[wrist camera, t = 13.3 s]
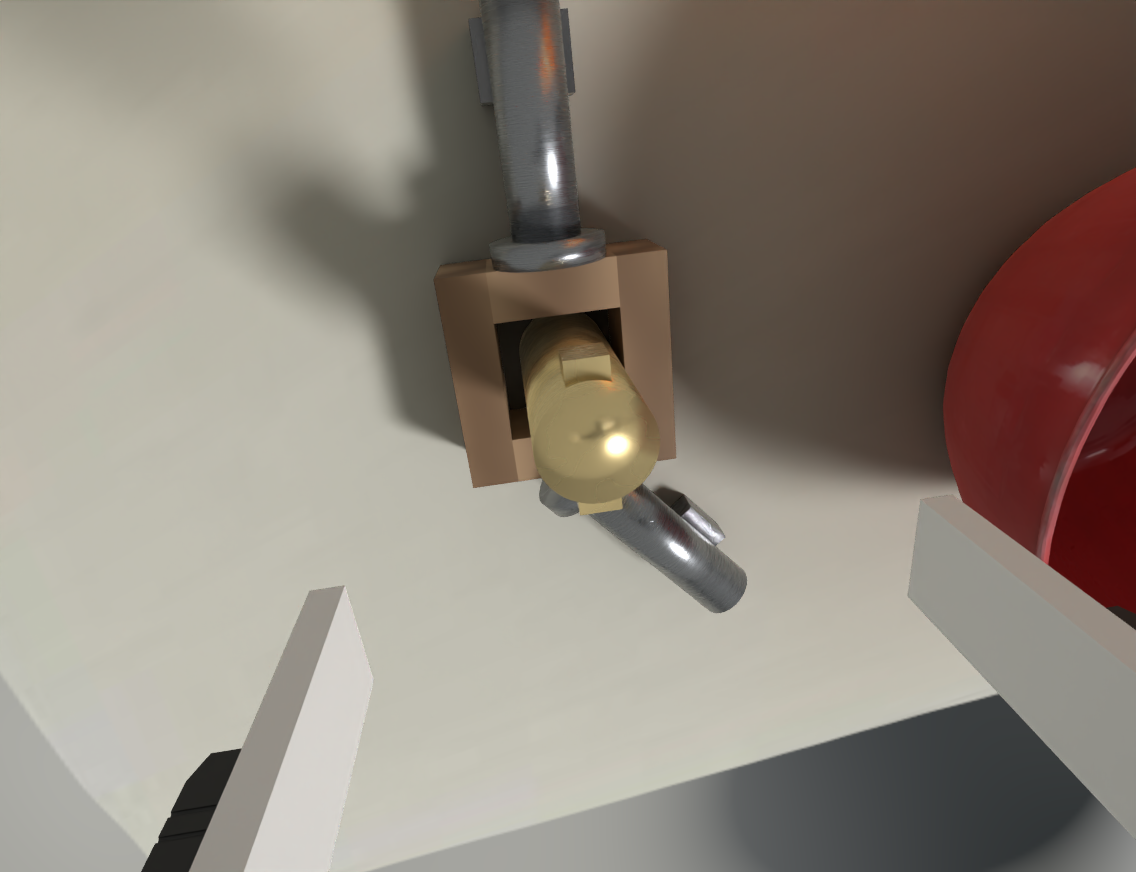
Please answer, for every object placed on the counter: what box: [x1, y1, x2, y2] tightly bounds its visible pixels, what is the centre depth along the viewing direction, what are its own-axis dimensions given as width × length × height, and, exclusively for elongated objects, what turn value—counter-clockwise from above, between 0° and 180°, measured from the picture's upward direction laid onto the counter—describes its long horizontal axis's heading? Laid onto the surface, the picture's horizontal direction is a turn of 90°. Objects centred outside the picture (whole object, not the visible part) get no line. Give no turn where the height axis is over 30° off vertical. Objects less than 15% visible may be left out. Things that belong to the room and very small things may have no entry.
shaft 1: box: [468, 0, 606, 273], centre depth 26 cm, size 10×5×6 cm, turn 6°
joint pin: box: [519, 312, 660, 515], centre depth 28 cm, size 4×6×12 cm
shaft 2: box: [539, 480, 747, 613], centre depth 35 cm, size 12×5×6 cm, turn 46°
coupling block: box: [434, 239, 676, 488], centre depth 31 cm, size 10×10×4 cm
